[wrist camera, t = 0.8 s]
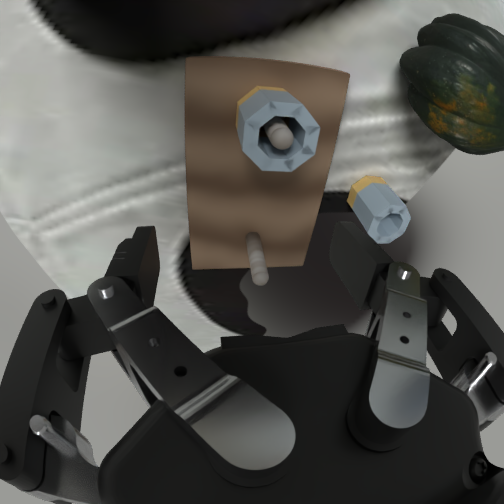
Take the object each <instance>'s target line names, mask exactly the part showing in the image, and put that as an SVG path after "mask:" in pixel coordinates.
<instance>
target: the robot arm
mask: <svg viewBox="0 0 504 504" xmlns="http://www.w3.org/2000/svg"><path fill="white" fill-rule="evenodd" d="M329 258H330V263H331V265H332V266H333V268H334V269H335V271H336V272H337V274H338V276H339V277H340V279H341V280H342V282H343V283H344V285H345V286H346V288H347V290H348V291H349V293H350V294H351V296H352V297H353V299H354V301H355V302H356V304H357V305H358V307H359V309H360V310H366V309H372V313H371V315H370V318H369V322H368V326H367V329H366V333H365V336H364V335H360V334H355V333H348V332H347V330H346V328H345V326H344V324H341V325H334V326H327V327H320V328H315V329H312V330H309V331H307V332H304V333H301V334H298V335H296V336H292V337H289V338H281V337H271V336H261V335H243V336H229V337H221V347H218V348H215V349H212V350H210V351H207V352H205V353H203V352H202V351H201V350H200V349H199V348H198V347H197V346H196V345H195V344H193V343H192V342H191V341H190V340H189V339H188V338H187V337H186V336H185V335H184V334H183V333H182V332H181V331H180V330H179V329H178V328H177V327H176V326H175V325H174V324H173V323H172V322H171V321H170V320H169V319H168V318H167V317H166V316H165V315H164V314H163V313H162V312H161V311H160V310H159V309H158V308H157V307H156V306H153V305H154V299H155V293H156V288H157V282H158V277H159V271H160V260H159V252H158V245H157V237H156V230H155V227H154V226H141V227H137V228H136V230H135V233H134V235H133V237H132V238H128V239H125V240H124V241H123V242H121V243H120V244H119V245H118V247H117V249H116V251H115V254H114V256H113V258H112V260H111V262H110V265H109V267H108V269H107V272H106V274H105V276H104V277H103V278H100V279H98V280H96V281H94V282H93V283H92V284H91V285H90V286H89V288H88V290H87V295H84V296H81V297H76V298H72V299H69V300H67V297H66V295H65V293H64V292H63V291H62V290H59V289H52V290H48V291H46V292H44V293H42V294H40V296H38V297H37V298H36V299H35V301H34V303H33V305H32V307H31V309H30V311H29V313H28V315H27V317H26V319H25V322H24V324H23V326H22V328H21V331H20V333H19V335H18V338H17V340H16V343H15V345H14V348H13V350H12V353H11V355H10V358H9V361H8V364H7V367H6V369H5V372H4V375H3V379H2V382H1V385H0V479H2V480H4V481H5V482H7V483H9V484H12V485H13V486H15V487H17V488H18V489H19V490H21V491H23V492H26V493H28V494H30V495H33V496H35V497H37V498H39V499H42V500H45V501H50V502H53V503H55V504H72V503H75V504H504V468H500V467H497V466H495V465H493V464H491V463H490V462H489V461H488V460H487V458H486V456H485V454H484V452H483V447H482V443H481V438H480V431H482V430H483V429H485V428H486V427H487V426H489V425H490V424H491V423H492V422H493V421H494V420H496V419H497V418H498V417H499V416H500V415H501V414H503V413H504V333H503V331H502V330H501V329H500V327H499V326H498V325H497V324H496V322H495V321H494V320H493V318H492V317H491V316H490V315H489V313H488V312H487V311H486V310H485V308H484V307H483V306H482V305H481V304H480V302H479V301H478V300H477V299H476V298H475V296H474V295H473V294H472V293H471V292H470V291H469V290H468V288H467V287H466V286H465V285H464V284H463V283H462V282H461V280H460V279H459V278H458V277H457V276H456V275H454V274H453V273H452V272H450V271H448V270H446V269H442V268H438V269H435V270H434V272H433V275H432V277H431V278H426V277H420V274H419V273H418V271H417V270H416V269H415V268H414V267H412V266H411V265H409V264H406V263H403V262H394V261H393V259H392V258H391V257H390V256H389V255H388V254H387V253H386V252H385V251H384V250H383V249H382V248H381V247H380V246H379V245H378V244H377V242H376V241H375V240H374V239H373V238H372V237H370V236H369V235H367V234H365V233H363V231H361V230H360V228H359V227H358V226H357V225H356V224H355V223H354V222H337V223H336V224H335V227H334V232H333V236H332V241H331V246H330V251H329ZM447 309H449V310H450V312H451V313H452V315H453V316H454V317H455V319H456V321H457V328H456V331H455V332H454V334H453V336H452V335H451V334H450V332H449V331H448V329H447V328H446V326H445V325H444V324H443V322H442V321H441V320H442V318H443V317H444V315H445V313H446V311H447ZM107 351H111V352H112V354H113V356H114V357H115V358H116V360H117V362H118V363H119V365H120V366H121V367H122V369H123V371H124V372H125V373H126V375H127V376H128V378H129V379H130V380H131V382H132V383H133V385H134V386H135V388H136V389H137V391H138V392H139V394H140V395H141V397H142V398H143V400H144V401H145V403H146V404H147V406H148V407H149V409H148V410H147V411H146V413H145V414H144V415H143V416H142V417H141V418H140V419H139V420H138V421H137V422H136V424H135V425H134V426H133V427H132V428H131V429H130V430H129V431H128V432H127V433H126V434H125V435H124V436H123V438H122V439H121V440H120V441H119V442H118V443H117V444H116V445H115V446H114V447H113V448H112V449H111V450H110V451H109V452H108V454H107V455H106V456H105V458H104V459H103V461H102V463H101V465H100V467H98V466H97V465H96V463H95V461H94V458H93V451H92V447H91V444H90V442H89V441H88V439H87V438H86V437H85V436H84V435H82V434H81V433H80V428H81V418H82V409H83V402H84V395H85V387H86V382H87V376H88V370H89V364H90V359H91V355H94V354H98V353H103V352H107ZM427 351H428V353H429V354H430V356H431V358H432V360H433V361H434V363H435V365H436V367H437V369H438V370H439V372H440V374H441V376H442V378H443V379H444V380H443V379H441V378H440V377H438V376H436V375H434V374H433V373H431V372H430V370H429V369H428V368H427V367H426V352H427Z"/></svg>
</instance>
